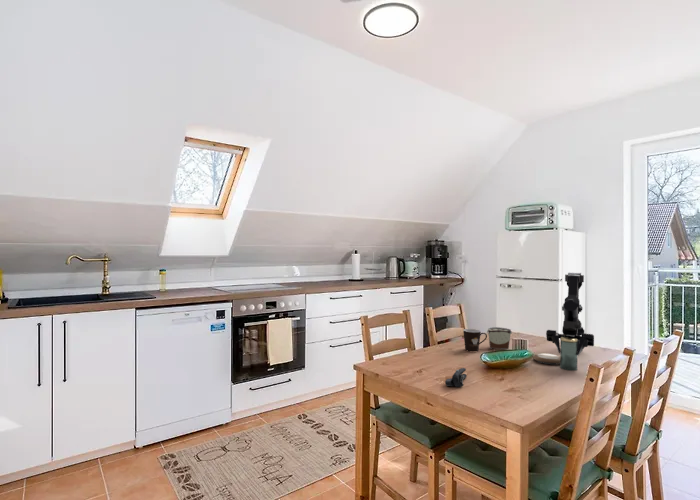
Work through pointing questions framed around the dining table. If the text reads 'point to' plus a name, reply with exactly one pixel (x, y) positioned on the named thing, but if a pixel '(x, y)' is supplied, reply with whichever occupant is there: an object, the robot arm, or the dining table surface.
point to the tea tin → (568, 353)
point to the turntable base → (547, 363)
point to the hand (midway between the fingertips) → (568, 353)
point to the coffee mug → (472, 339)
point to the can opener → (456, 378)
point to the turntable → (547, 357)
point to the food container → (499, 337)
